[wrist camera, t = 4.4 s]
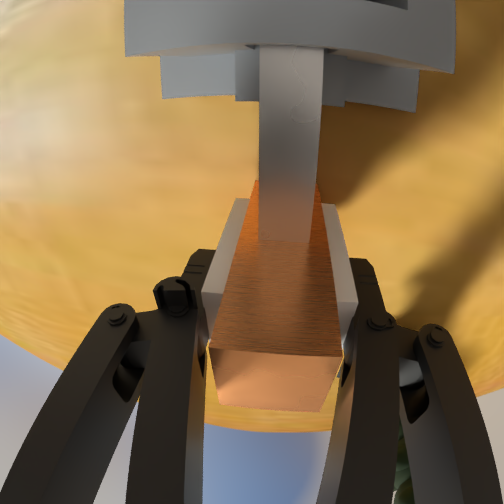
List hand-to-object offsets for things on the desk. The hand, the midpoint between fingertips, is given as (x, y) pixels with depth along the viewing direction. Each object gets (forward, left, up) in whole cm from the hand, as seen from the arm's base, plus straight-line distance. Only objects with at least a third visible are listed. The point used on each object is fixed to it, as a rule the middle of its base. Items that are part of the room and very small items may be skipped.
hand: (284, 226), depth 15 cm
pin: (0, +6, -2) cm, 7 cm away
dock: (0, +12, -2) cm, 12 cm away
